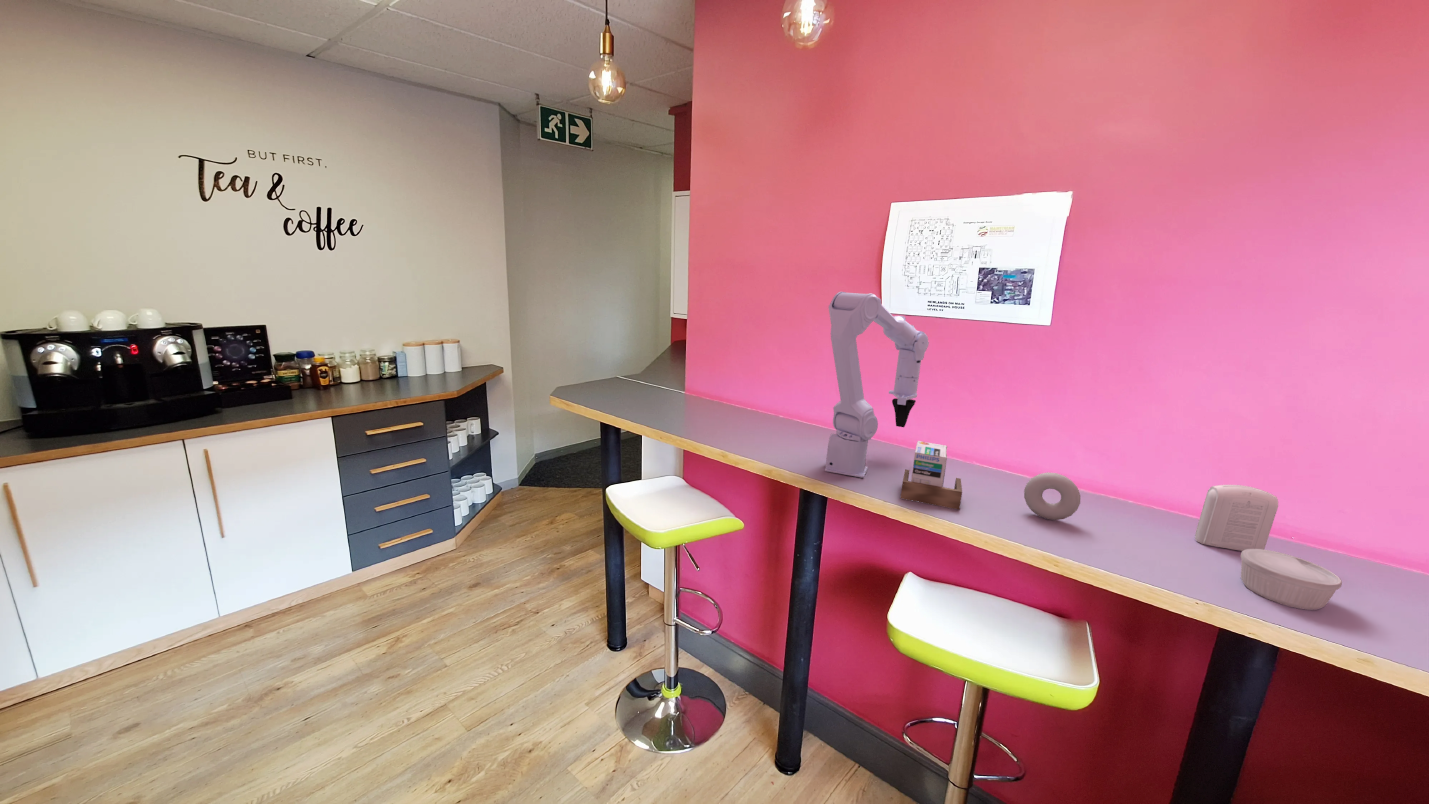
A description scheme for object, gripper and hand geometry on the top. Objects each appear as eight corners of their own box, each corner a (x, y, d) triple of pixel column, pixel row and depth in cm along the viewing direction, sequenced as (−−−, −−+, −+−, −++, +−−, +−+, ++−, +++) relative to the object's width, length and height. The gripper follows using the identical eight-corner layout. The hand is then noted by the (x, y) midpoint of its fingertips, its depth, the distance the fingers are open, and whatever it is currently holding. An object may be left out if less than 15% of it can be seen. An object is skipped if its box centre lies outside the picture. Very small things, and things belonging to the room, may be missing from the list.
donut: (1075, 522, 111) (1085, 477, 109) (1074, 528, 108) (1085, 481, 106) (1020, 509, 117) (1029, 465, 115) (1019, 514, 114) (1027, 469, 112)
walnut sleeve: (900, 498, 119) (902, 481, 118) (902, 485, 127) (905, 469, 126) (959, 509, 115) (962, 492, 114) (958, 495, 123) (960, 478, 122)
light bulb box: (940, 504, 117) (947, 457, 115) (907, 498, 119) (914, 452, 117) (941, 488, 127) (948, 444, 124) (911, 483, 129) (917, 439, 127)
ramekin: (1353, 615, 83) (1364, 584, 82) (1288, 615, 82) (1298, 584, 81) (1274, 576, 94) (1283, 548, 93) (1215, 575, 93) (1223, 547, 92)
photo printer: (1253, 546, 105) (1271, 487, 102) (1267, 556, 101) (1287, 495, 98) (1189, 536, 108) (1205, 478, 105) (1201, 546, 104) (1218, 485, 101)
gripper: (894, 370, 149) (888, 418, 152) (887, 378, 136) (881, 430, 139) (921, 373, 146) (914, 422, 149) (917, 381, 133) (910, 434, 136)
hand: (900, 426), depth 144 cm, fingers closed
